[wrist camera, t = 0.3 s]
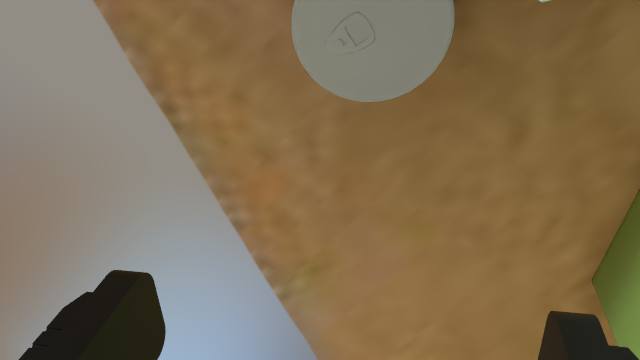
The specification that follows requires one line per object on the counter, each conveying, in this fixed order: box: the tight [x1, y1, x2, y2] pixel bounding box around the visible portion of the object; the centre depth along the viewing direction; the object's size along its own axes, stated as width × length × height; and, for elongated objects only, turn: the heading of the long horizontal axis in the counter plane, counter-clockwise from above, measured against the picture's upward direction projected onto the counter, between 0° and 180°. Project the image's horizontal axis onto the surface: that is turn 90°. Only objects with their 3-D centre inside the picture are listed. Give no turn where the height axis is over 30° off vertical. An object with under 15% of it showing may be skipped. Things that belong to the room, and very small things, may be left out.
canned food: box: [291, 0, 455, 102], centre depth 30 cm, size 8×8×11 cm
